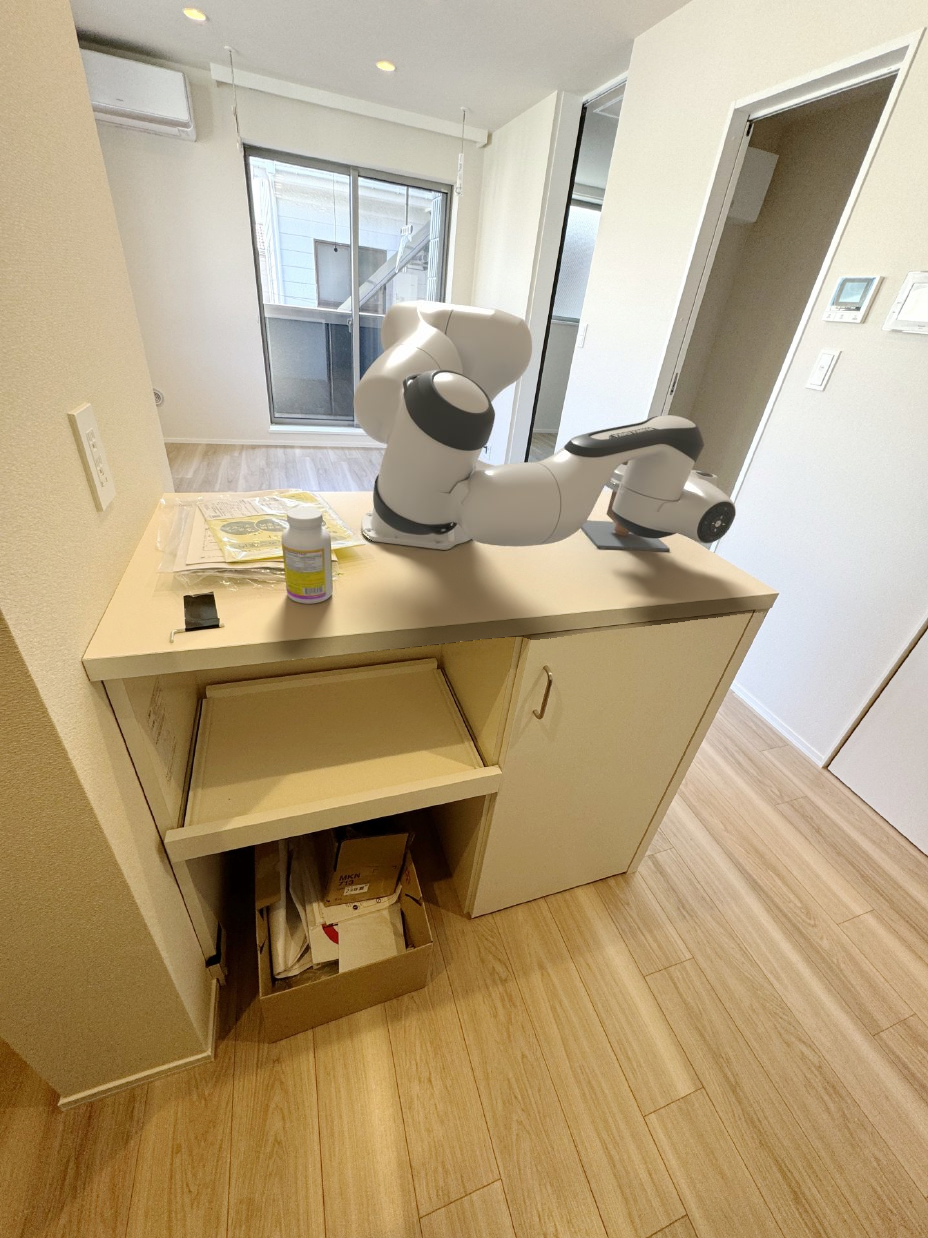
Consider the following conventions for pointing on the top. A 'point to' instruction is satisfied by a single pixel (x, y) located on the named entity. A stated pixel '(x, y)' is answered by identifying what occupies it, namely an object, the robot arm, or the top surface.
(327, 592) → the supplement bottle
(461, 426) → the robot arm
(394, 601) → the top surface
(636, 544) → the mat
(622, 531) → the peach round lump
